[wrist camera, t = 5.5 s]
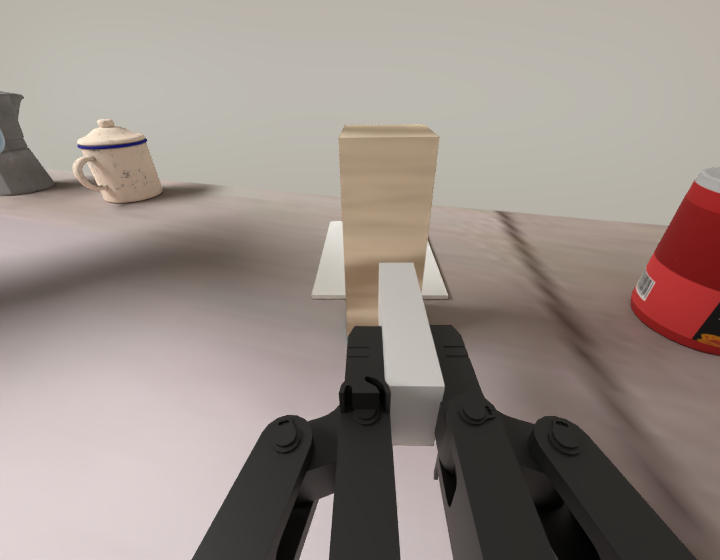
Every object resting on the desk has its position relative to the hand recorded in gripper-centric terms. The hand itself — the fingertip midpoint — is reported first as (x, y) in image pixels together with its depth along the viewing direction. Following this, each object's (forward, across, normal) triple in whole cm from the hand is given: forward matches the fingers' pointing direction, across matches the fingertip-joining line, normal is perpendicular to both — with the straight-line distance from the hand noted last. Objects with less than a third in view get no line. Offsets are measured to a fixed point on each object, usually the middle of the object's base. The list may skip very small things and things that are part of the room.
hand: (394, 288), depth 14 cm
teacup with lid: (+39, -42, -8) cm, 58 cm away
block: (+8, 0, -8) cm, 11 cm away
